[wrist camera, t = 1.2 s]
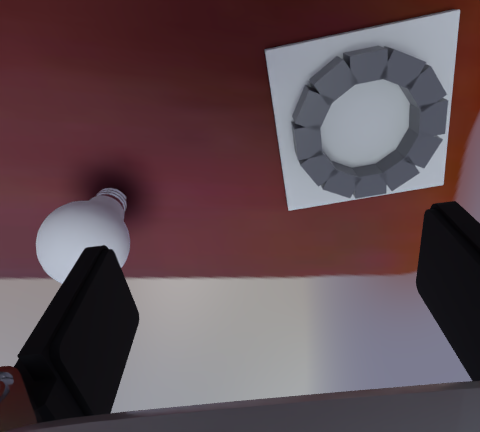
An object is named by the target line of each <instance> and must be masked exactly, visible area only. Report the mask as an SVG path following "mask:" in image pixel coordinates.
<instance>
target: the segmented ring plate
mask: <svg viewBox="0 0 480 432" xmlns="http://www.w3.org/2000/svg"><path fill="white" fill-rule="evenodd" d="M459 16H460V10H455V9H453V10H448V11H443V12H438V13H434V14H429V15H424V16H420V17H415V18H410V19H405V20H401V21H396V22H391V23H387V24H382V25H377V26H372V27H368V28H363V29H358V30H353V31H349V32H344V33H339V34H335V35H330V36H325V37H320V38H316V39H311V40H306V41H301V42H297V43H292V44H287V45H283V46H278V47H273V48H268V49H264V50H265V56H266V63H267V70H268V77H269V84H270V90H271V97H272V104H273V111H274V117H275V124H276V131H277V138H278V145H279V151H280V158H281V165H282V172H283V178H284V185H285V192H286V199H287V206H288V210H289V211H290V210H296V209H302V208H308V207H314V206H320V205H326V204H332V203H338V202H344V201H350V200H356V199H362V198H368V197H374V196H380V195H386V194H392V193H398V192H404V191H410V190H416V189H422V188H428V187H434V186H440V185H443V183H444V173H445V162H446V152H447V141H448V131H449V120H450V110H451V99H452V89H453V79H454V68H455V58H456V47H457V37H458V26H459Z"/></svg>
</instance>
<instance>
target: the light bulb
mask: <svg viewBox="0 0 480 432" xmlns="http://www.w3.org/2000/svg"><path fill="white" fill-rule="evenodd" d="M126 210H127V197H126V196H125V194H124V193H123V192H121V191H120V190H118V189H115V188H111V187H110V188H104V189H102V190H100V191H99V192H98V193H97V194H96V196H95V197H93V198H92V199H90V200H89V201H75V202H71V203H68V204H66V205H63V206H61V207H59V208H57V209H56V210H54V211H53V212H52V213H51V214H49V215H48V217H47V218H46V219H45V220H44V222H43V223H42V225H41V227H40V229H39V231H38V234H37V239H36V251H37V257H38V260H39V262H40V264H41V265H42V267H43V269H44V270H45V271H46V273H47V274H48V275H49V276H50V277H52V278H53V279H54V280H56V281H58V282H60V283H62V284H63V282H64V281H65V279H66V277H67V276H68V274H69V273H70V271H71V269H72V268H73V266H74V265H75V263H76V261H77V260H78V258H79V257H80V255H81V253H82V252H83V250H84V249H85V248H87V247H94V246H102V245H105V246H107V247H108V249H112V250H113V251H114V252H115V254H116V257H117V259H118V262H119V264H120V267H121V268H122V266H123V265H124V263H125V262H126V260H127V257H128V254H129V250H130V236H129V231H128V229H127V226H126V224H125V223H124V221H123V220H124V213H125V211H126Z"/></svg>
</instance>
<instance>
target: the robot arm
mask: <svg viewBox="0 0 480 432" xmlns="http://www.w3.org/2000/svg"><path fill="white" fill-rule="evenodd" d="M416 286H417V289H418V292H419V294H420V295H421V297H422V299H423V301H424V302H425V304H426V305H427V307H428V309H429V310H430V312H431V313H432V315H433V317H434V319H435V320H436V322H437V323H438V325H439V327H440V328H441V330H442V332H443V333H444V335H445V337H446V338H447V340H448V341H449V343H450V345H451V346H452V348H453V350H454V351H455V353H456V355H457V356H458V358H459V359H460V361H461V363H462V364H463V366H464V368H465V369H466V371H467V373H468V374H469V376H470V377H471V379H472V381H470V382H455V383H442V384H429V385H417V386H406V387H394V388H382V389H370V390H358V391H346V392H335V393H323V394H312V395H301V396H289V397H280V398H267V399H256V400H246V401H234V402H225V403H214V404H202V405H192V406H181V407H171V408H160V409H150V410H139V411H130V412H120V413H112V414H110V413H111V409H112V406H113V403H114V400H115V397H116V394H117V390H118V387H119V384H120V381H121V378H122V374H123V371H124V368H125V365H126V362H127V359H128V355H129V352H130V349H131V346H132V343H133V339H134V336H135V333H136V330H137V327H138V323H139V313H138V310H137V307H136V305H135V302H134V300H133V298H132V295H131V292H130V290H129V287H128V285H127V282H126V280H125V277H124V275H123V272H122V270H121V267H120V264H119V262H118V259H117V257H116V254H115V252H114V251H113V250H112V249H108V247H107V246H105V245H102V246H94V247H87V248H85V249H84V250H83V252H82V253H81V255H80V257H79V258H78V260H77V261H76V263H75V265H74V266H73V268H72V269H71V271H70V273H69V274H68V276H67V277H66V279H65V281H64V282H63V284H62V286H61V287H60V289H59V290H58V292H57V293H56V295H55V297H54V298H53V300H52V301H51V303H50V305H49V306H48V308H47V310H46V311H45V313H44V315H43V316H42V317H41V319H40V321H39V322H38V324H37V326H36V327H35V329H34V330H33V332H32V334H31V335H30V337H29V338H28V340H27V341H26V343H25V345H24V346H23V348H22V349H21V351H20V353H19V354H18V358H19V359H18V361H17V363H16V365H15V366H14V367H11V366H2V367H0V432H480V223H479V222H477V221H476V220H475V219H474V218H473V217H472V216H471V215H470V214H469V213H468V212H467V211H466V210H465V209H464V208H462V207H461V206H460V205H459V204H458V203H457V202H455V201H452V202H444V203H436V204H433V205H432V206H431V208H430V209H428V210H426V211H425V214H424V221H423V229H422V237H421V245H420V253H419V261H418V269H417V277H416Z"/></svg>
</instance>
